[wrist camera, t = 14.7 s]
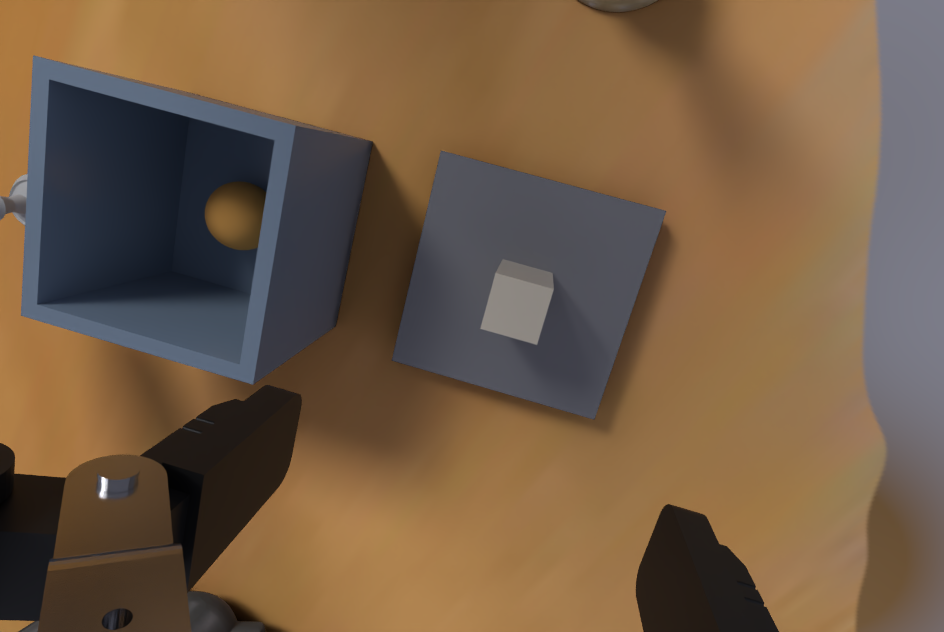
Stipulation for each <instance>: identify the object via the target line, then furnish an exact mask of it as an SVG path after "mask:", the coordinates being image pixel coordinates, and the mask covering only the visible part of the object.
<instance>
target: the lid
mask: <svg viewBox="0 0 944 632" xmlns="http://www.w3.org/2000/svg"><path fill="white" fill-rule="evenodd" d="M665 213H666V211H664V210H661V209H657V208H653V207H649V206H646V205H642V204H638V203H635V202H631V201H627V200H623V199H620V198H616V197H612V196H609V195H605V194H601V193H597V192H594V191H590V190H586V189H582V188H579V187H575V186H571V185H568V184H564V183H560V182H556V181H553V180H549V179H545V178H541V177H538V176H534V175H530V174H527V173H523V172H519V171H515V170H512V169H508V168H504V167H501V166H497V165H493V164H489V163H486V162H482V161H478V160H474V159H471V158H467V157H463V156H460V155H456V154H452V153H448V152H445V151H441V153H440V157H439V161H438V165H437V170H436V174H435V178H434V183H433V187H432V191H431V195H430V200H429V204H428V208H427V212H426V217H425V221H424V225H423V229H422V234H421V238H420V242H419V246H418V251H417V255H416V259H415V264H414V268H413V272H412V276H411V281H410V285H409V289H408V293H407V298H406V302H405V306H404V310H403V315H402V319H401V323H400V328H399V332H398V336H397V340H396V345H395V349H394V353H393V357H392V361H395V362H399V363H402V364H406V365H409V366H412V367H416V368H419V369H423V370H426V371H430V372H433V373H436V374H440V375H443V376H447V377H450V378H453V379H457V380H460V381H464V382H467V383H471V384H474V385H477V386H481V387H484V388H488V389H491V390H495V391H498V392H501V393H505V394H508V395H512V396H515V397H519V398H522V399H525V400H529V401H532V402H536V403H539V404H543V405H546V406H549V407H553V408H556V409H560V410H563V411H566V412H570V413H573V414H577V415H580V416H584V417H587V418H590V419H595V416H596V413H597V410H598V407H599V405H600V402H601V399H602V396H603V393H604V390H605V387H606V384H607V381H608V378H609V376H610V373H611V370H612V367H613V364H614V361H615V358H616V355H617V352H618V350H619V347H620V344H621V341H622V338H623V335H624V332H625V329H626V326H627V323H628V321H629V318H630V315H631V312H632V309H633V306H634V303H635V300H636V297H637V294H638V292H639V289H640V286H641V283H642V280H643V277H644V274H645V271H646V268H647V265H648V263H649V260H650V257H651V254H652V251H653V248H654V245H655V242H656V239H657V237H658V234H659V231H660V228H661V225H662V222H663V219H664V216H665Z"/></svg>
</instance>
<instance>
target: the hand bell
mask: <svg viewBox="0 0 944 632" xmlns="http://www.w3.org/2000/svg"><path fill="white" fill-rule="evenodd" d="M578 1H580V2H582V3H584V4H586V5H588V6H590V7H593V8H595V9H599V10H603V11H608V12H626V11H632V10H636V9H640V8H643V7H645V6H648V5H650V4H652V3H654V2H656V1H658V0H578Z"/></svg>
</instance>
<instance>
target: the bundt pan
mask: <svg viewBox="0 0 944 632" xmlns="http://www.w3.org/2000/svg"><path fill="white" fill-rule="evenodd" d="M187 596H188V605H189V614H190V624H191V632H266V631H265V626H264V624H263V623H262V622H249V621H237V620H236V617H235V615H234V613H233V611H232V609H231V608H230V607H229V605H228V604H227V603H226V602H225V601H224V600H222V599H221V598H219V597H218V596H215V595H213V594H210V593H206V592H200V591H189V592H188V593H187ZM38 626H39V621H34V622H33V623H31V624H30V625H28V626H27V627H25V628H23V629H22V630H20V631H19V632H38Z"/></svg>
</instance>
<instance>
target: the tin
mask: <svg viewBox="0 0 944 632" xmlns="http://www.w3.org/2000/svg"><path fill="white" fill-rule="evenodd" d="M372 144H373V142H372V141H369V140H365V139H361V138H357V137H354V136H350V135H346V134H343V133H339V132H335V131H331V130H328V129H324V128H320V127H316V126H313V125H309V124H305V123H301V122H298V121H294V120H290V119H286V118H283V117H279V116H275V115H271V114H268V113H264V112H260V111H256V110H253V109H249V108H245V107H242V106H238V105H234V104H230V103H227V102H223V101H219V100H215V99H212V98H208V97H204V96H200V95H197V94H193V93H189V92H185V91H181V90H177V89H172V88H168V87H164V86H160V85H156V84H151V83H147V82H143V81H139V80H135V79H130V78H126V77H122V76H118V75H113V74H109V73H105V72H101V71H97V70H92V69H88V68H84V67H80V66H76V65H71V64H67V63H63V62H59V61H54V60H50V59H46V58H42V57H38V56H33V70H32V91H31V113H30V134H29V156H28V177H27V199H26V220H25V242H24V263H23V285H22V306H21V316H24V317H27V318H31V319H34V320H38V321H41V322H44V323H48V324H51V325H54V326H58V327H61V328H64V329H68V330H71V331H74V332H78V333H81V334H85V335H88V336H91V337H95V338H98V339H101V340H105V341H108V342H111V343H115V344H118V345H121V346H125V347H128V348H132V349H135V350H138V351H142V352H145V353H148V354H152V355H155V356H158V357H162V358H165V359H168V360H172V361H175V362H179V363H182V364H185V365H189V366H192V367H195V368H199V369H202V370H205V371H209V372H212V373H215V374H219V375H222V376H226V377H229V378H232V379H236V380H239V381H242V382H246V383H249V384H252V385H253V384H255V383H256V382H257V381H259V380H260V379H262V378H263V377H265V376H266V375H267V374H269V373H270V372H272V371H273V370H274V369H276V368H277V367H279V366H280V365H282V364H283V363H284V362H286V361H287V360H289V359H290V358H291V357H293V356H294V355H296V354H297V353H299V352H300V351H301V350H303V349H304V348H306V347H307V346H308V345H310V344H311V343H313V342H314V341H316V340H317V339H318V338H320V337H321V336H323V335H324V334H325V333H327V332H328V331H330V330H331V329H333V328H334V327H335V326H336V323H337V318H338V313H339V308H340V303H341V298H342V293H343V288H344V283H345V278H346V273H347V268H348V263H349V258H350V253H351V248H352V243H353V238H354V233H355V228H356V223H357V218H358V213H359V208H360V203H361V198H362V193H363V188H364V183H365V178H366V173H367V168H368V164H369V159H370V154H371V149H372ZM237 181H240V182H248V183H251V184H254V185H256V186H258V187H260V188H261V189H263V190H264V191H265V192H266V199H265V205H264V212H263V218H262V225H261V231H260V237H259V244H258V248H255V249H251V250H236V249H232V248H229V247H227V246H225V245H223V244H221V243H220V242H219V241H218V240H216V239H215V238H214V237H213V235H212V234H211V233H210V231H209V229H208V227H207V224H206V221H205V207H206V203H207V201H208V199H209V197H210V195H211V194H212V193H213V192H214V191H215V190H216V189H217V188H219V187H220V186H222V185H224V184H227V183H230V182H237Z"/></svg>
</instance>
